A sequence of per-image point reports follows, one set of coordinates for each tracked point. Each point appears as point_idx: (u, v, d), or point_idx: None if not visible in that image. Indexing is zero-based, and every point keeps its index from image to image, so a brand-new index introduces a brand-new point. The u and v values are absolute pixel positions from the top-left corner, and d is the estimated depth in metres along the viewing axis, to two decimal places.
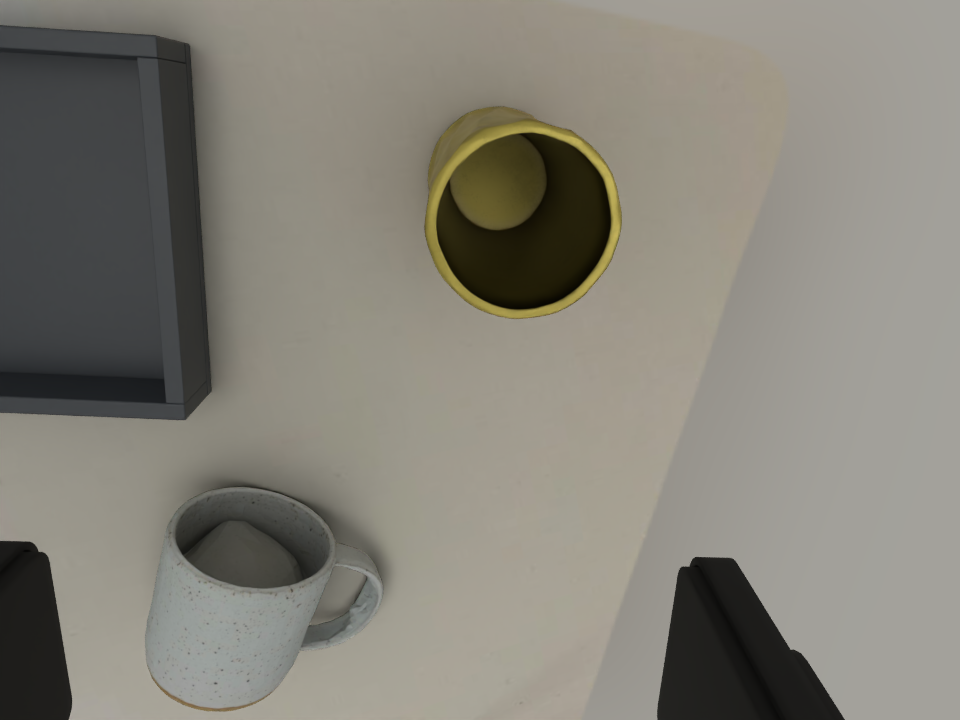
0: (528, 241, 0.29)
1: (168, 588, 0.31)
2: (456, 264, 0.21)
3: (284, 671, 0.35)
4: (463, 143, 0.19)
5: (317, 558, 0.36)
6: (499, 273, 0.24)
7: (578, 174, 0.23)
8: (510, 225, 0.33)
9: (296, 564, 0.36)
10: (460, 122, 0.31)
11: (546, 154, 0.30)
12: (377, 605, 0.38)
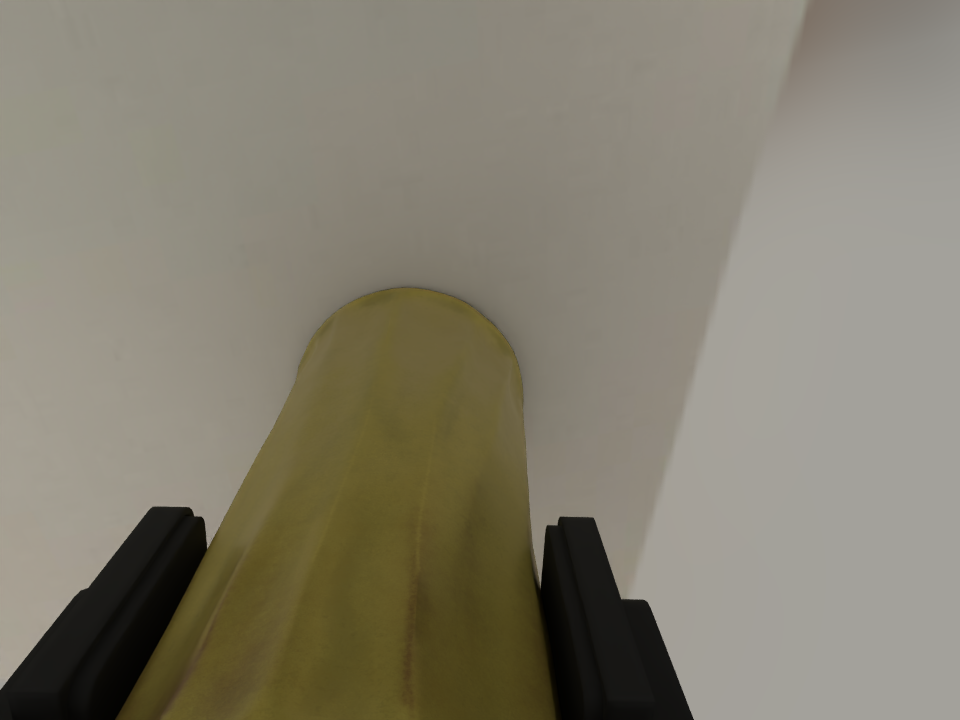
0: None
1: None
2: None
3: None
4: None
5: None
6: None
7: None
8: None
9: None
10: (500, 346, 0.19)
11: None
12: None
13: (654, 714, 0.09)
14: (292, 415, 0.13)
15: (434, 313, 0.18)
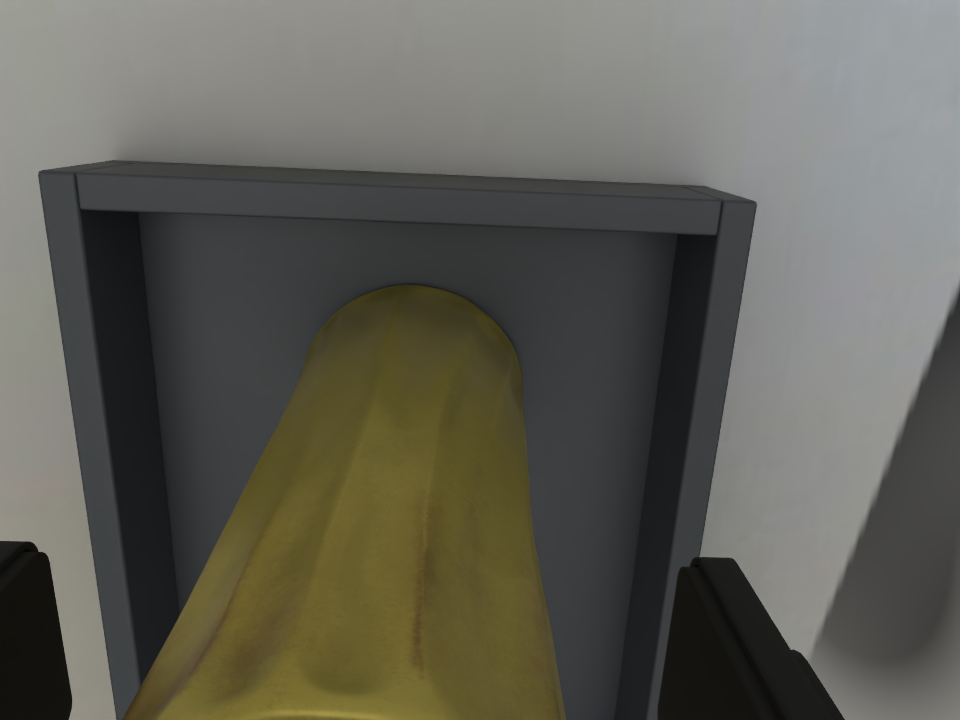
0: None
1: None
2: None
3: None
4: None
5: None
6: None
7: None
8: None
9: None
10: (500, 341, 0.19)
11: None
12: None
13: None
14: (300, 407, 0.14)
15: (436, 309, 0.18)
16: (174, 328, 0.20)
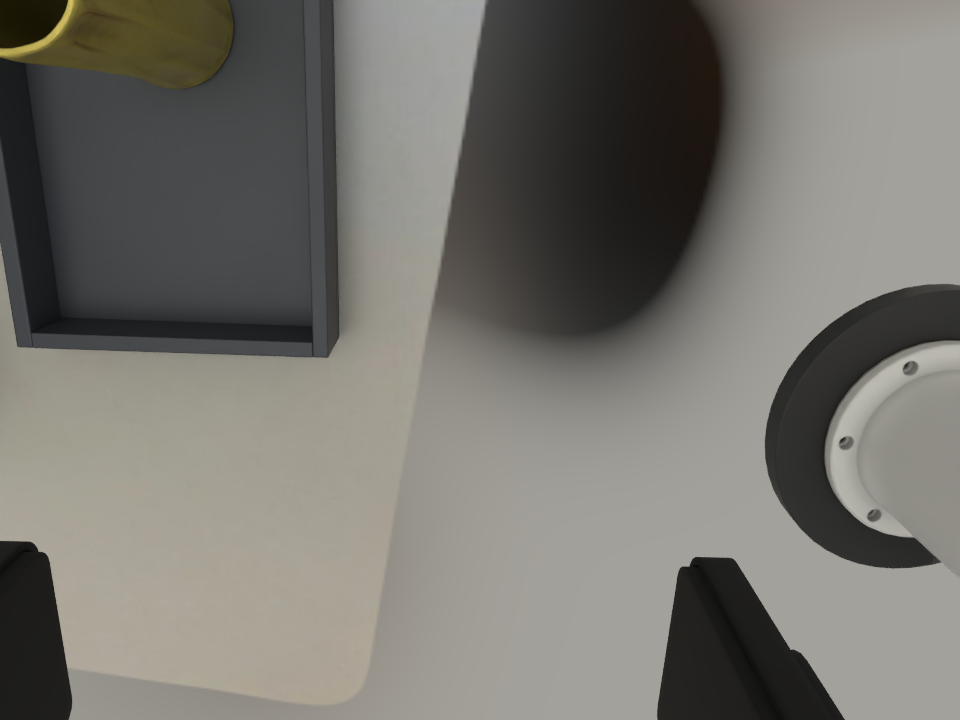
0: None
1: None
2: None
3: None
4: None
5: None
6: None
7: None
8: None
9: None
10: None
11: None
12: None
13: None
14: None
15: None
16: None
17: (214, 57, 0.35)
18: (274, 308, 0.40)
